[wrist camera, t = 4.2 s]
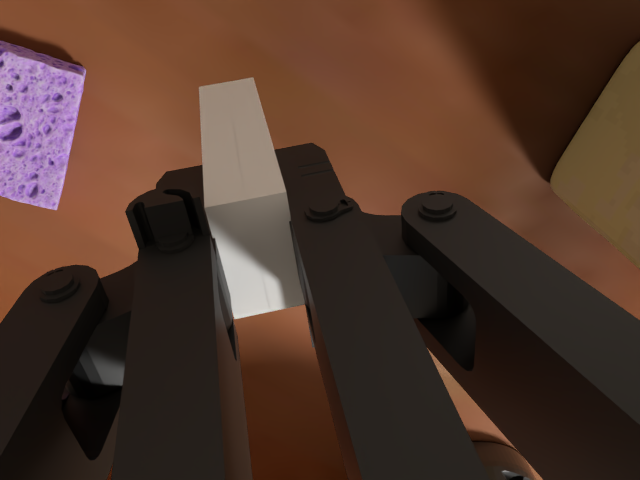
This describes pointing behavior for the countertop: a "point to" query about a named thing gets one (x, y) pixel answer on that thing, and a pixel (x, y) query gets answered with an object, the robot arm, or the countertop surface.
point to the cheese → (608, 162)
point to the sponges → (36, 123)
